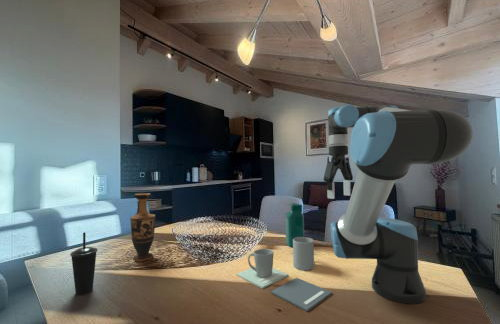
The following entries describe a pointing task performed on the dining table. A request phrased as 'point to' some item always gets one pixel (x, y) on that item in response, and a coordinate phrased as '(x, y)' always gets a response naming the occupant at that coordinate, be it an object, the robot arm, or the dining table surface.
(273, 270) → the pad green
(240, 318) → the dining table surface
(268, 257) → the cup
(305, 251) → the mug
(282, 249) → the dining table surface
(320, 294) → the pad slate
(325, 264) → the dining table surface
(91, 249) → the drinking cup
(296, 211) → the green bottle
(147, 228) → the vase
